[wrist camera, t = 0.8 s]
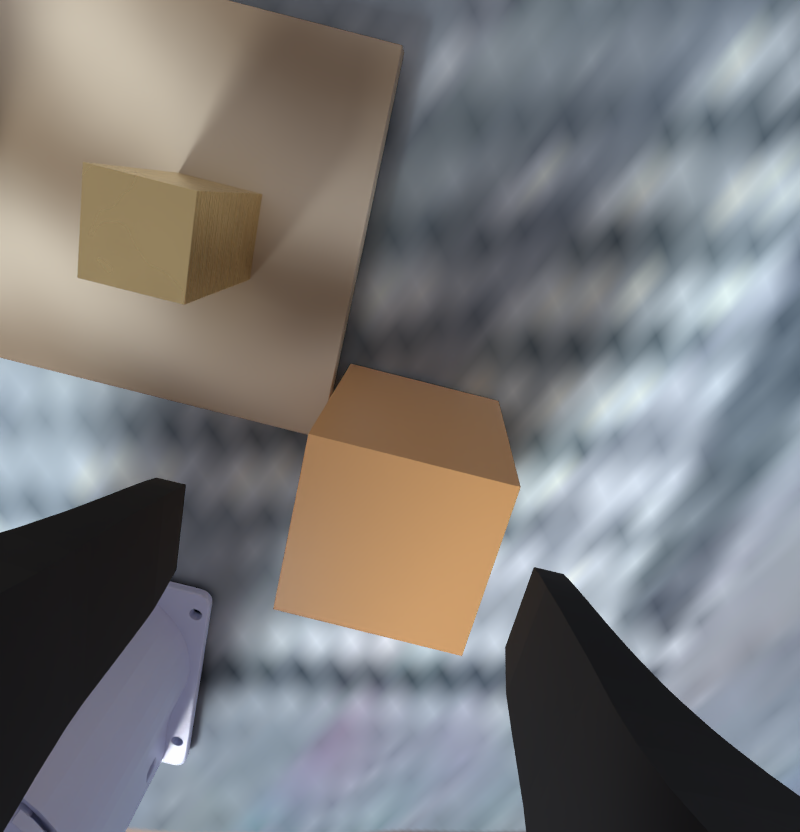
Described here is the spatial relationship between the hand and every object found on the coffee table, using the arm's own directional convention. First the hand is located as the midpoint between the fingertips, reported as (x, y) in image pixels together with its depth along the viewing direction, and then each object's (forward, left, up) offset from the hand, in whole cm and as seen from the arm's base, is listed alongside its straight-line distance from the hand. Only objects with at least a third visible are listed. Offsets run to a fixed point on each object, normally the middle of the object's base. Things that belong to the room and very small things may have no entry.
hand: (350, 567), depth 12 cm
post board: (+5, +11, -9) cm, 15 cm away
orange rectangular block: (-1, -1, -9) cm, 10 cm away
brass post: (+5, +7, -9) cm, 12 cm away
